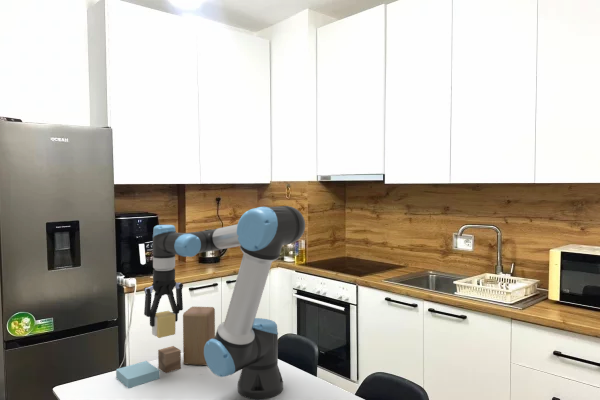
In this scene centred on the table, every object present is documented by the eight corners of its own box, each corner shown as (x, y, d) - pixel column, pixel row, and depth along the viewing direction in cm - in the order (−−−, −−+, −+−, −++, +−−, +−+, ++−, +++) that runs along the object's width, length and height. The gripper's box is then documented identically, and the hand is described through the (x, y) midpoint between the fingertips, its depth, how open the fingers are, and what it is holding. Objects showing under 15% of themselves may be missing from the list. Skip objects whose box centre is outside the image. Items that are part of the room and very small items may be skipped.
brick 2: (180, 368, 162) (180, 350, 162) (165, 373, 158) (165, 354, 158) (173, 363, 166) (173, 345, 166) (158, 368, 162) (158, 349, 162)
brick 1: (175, 334, 155) (175, 315, 155) (158, 338, 151) (159, 318, 151) (168, 329, 160) (168, 310, 159) (152, 332, 156) (152, 313, 155)
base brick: (159, 378, 154) (159, 370, 154) (128, 388, 146) (128, 379, 146) (146, 368, 162) (146, 360, 162) (116, 377, 154) (116, 369, 154)
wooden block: (215, 355, 174) (215, 306, 173) (208, 366, 164) (207, 313, 163) (191, 355, 175) (191, 305, 174) (182, 365, 165) (181, 313, 164)
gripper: (184, 263, 163) (183, 324, 164) (133, 270, 151) (133, 335, 152) (193, 267, 157) (193, 330, 158) (141, 273, 145) (141, 342, 146)
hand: (163, 332), depth 155 cm, fingers closed on brick 1, 6 cm apart
